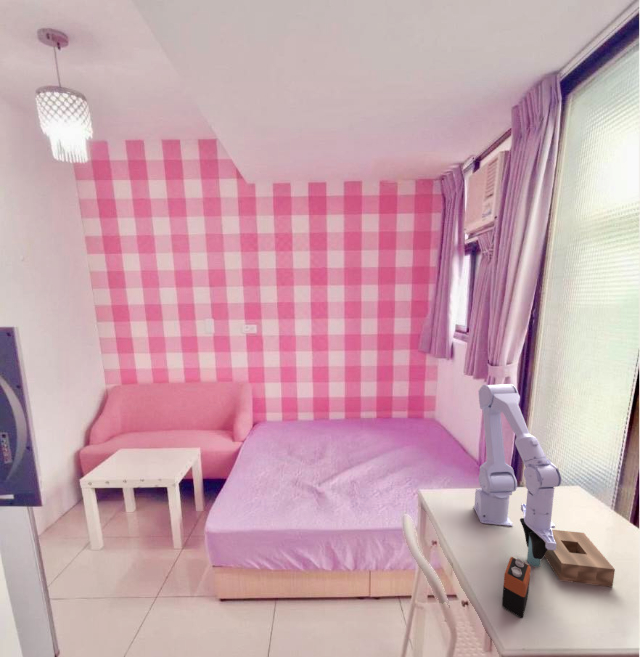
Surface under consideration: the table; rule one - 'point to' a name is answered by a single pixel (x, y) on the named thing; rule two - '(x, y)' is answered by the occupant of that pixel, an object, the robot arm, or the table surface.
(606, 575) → the socket block
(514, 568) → the battery
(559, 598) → the table surface
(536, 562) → the teal peg
